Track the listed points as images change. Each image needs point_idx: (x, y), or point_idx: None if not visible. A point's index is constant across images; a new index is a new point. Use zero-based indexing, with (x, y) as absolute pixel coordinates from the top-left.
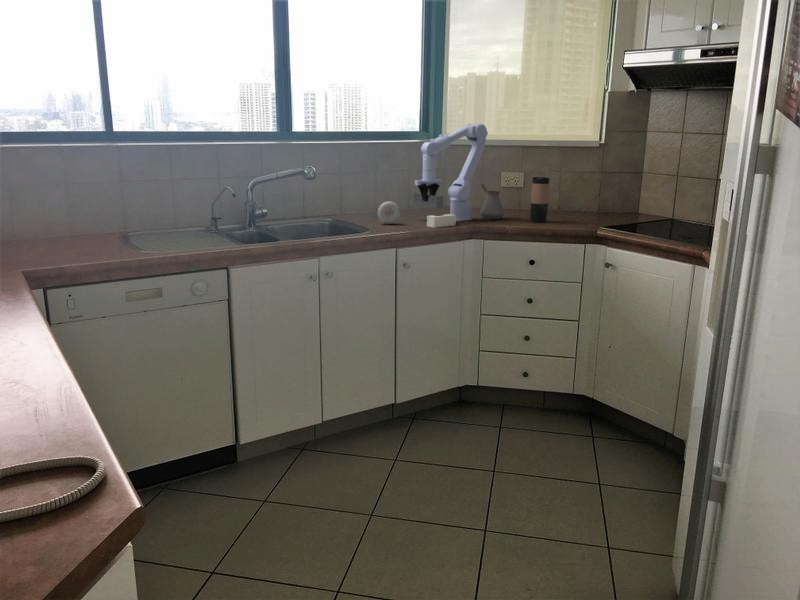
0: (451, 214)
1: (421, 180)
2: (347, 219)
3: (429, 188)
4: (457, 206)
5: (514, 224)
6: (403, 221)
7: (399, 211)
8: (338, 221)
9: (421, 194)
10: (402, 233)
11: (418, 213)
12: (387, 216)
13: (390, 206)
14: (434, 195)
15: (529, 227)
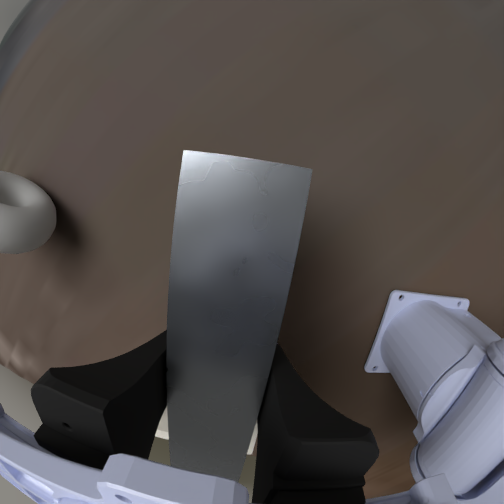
0: (253, 439)
1: (24, 487)
2: (50, 7)
3: (277, 424)
4: (407, 401)
5: (402, 469)
6: (146, 170)
7: (28, 250)
8: (6, 45)
9: (136, 351)
10: (13, 366)
11: (452, 41)
12: (13, 205)
13: None
14: (189, 460)
15: (368, 498)
